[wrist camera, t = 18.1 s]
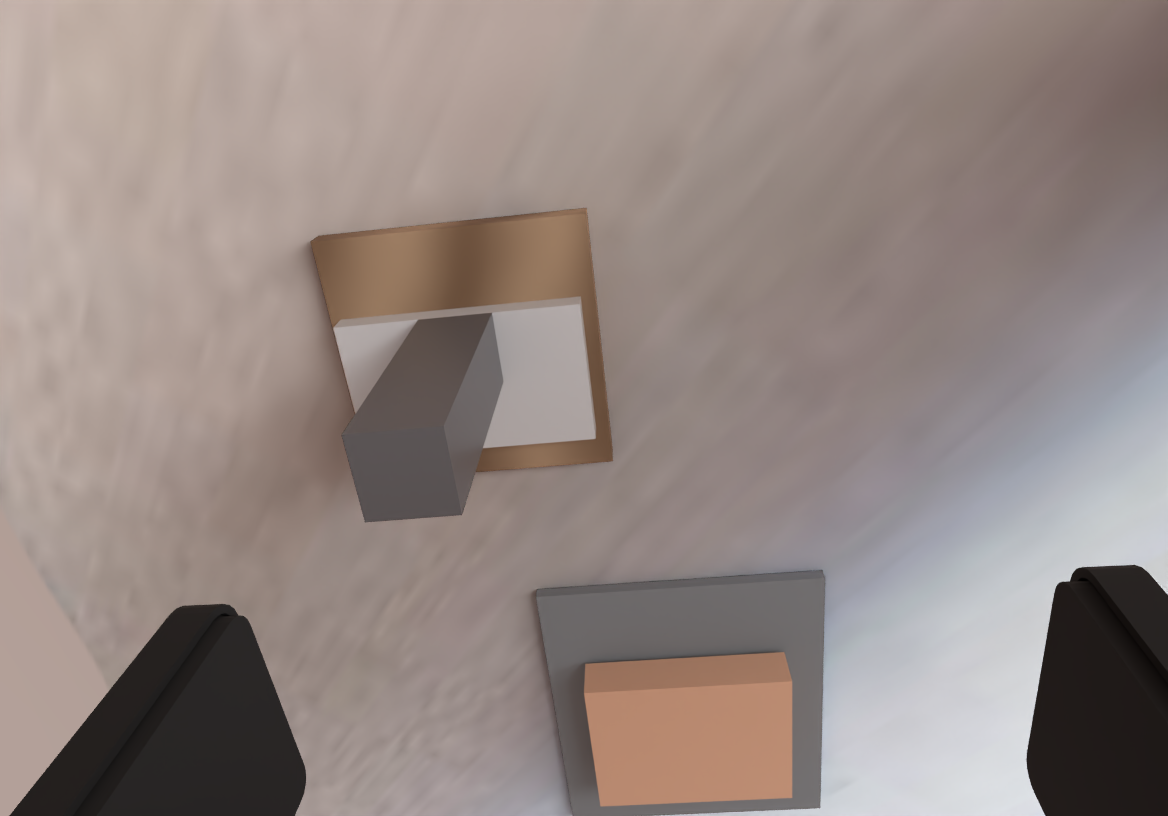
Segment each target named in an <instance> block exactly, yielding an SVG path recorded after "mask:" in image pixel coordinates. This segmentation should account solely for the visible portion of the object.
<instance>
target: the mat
mask: <svg viewBox="0 0 1168 816" xmlns="http://www.w3.org/2000/svg"><path fill="white" fill-rule="evenodd" d="M536 600H537V606H538V612H539V618H540V624H541V630H542V636H543V642H544V648H545V654H546V659H547V665H548V671H549V677H550V683H551V689H552V695H553V701H554V707H555V713H556V719H557V725H558V731H559V737H560V742H561V748H562V754H563V760H564V766H565V772H566V778H567V784H568V790H569V796H570V802H571V808H572V814H573V816H653V815H675V814H698V813H720V812H743V811H765V810H788V809H810V808H820V794H821V747H822V699H823V652H824V605H825V576H824V574H823V571H822V570H818V571H804V572H789V573H774V574H759V575H744V576H729V577H714V578H699V579H684V580H670V581H655V582H640V583H625V584H610V585H595V586H580V587H565V588H550V589H537V593H536ZM775 652H784V653H785V656H786V660H787V664H788V668H789V671H790V675H791V679H792V798H778V799H756V800H734V801H712V802H689V803H667V804H645V805H623V806H600V800H599V793H598V786H597V779H596V772H595V765H594V758H593V752H592V745H591V738H590V731H589V724H588V717H587V710H586V704H585V697H584V682H585V664H590V663H607V662H624V661H641V660H657V659H674V658H691V657H708V656H725V655H742V654H759V653H775Z"/></svg>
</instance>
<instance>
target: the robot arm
mask: <svg viewBox="0 0 1168 816" xmlns="http://www.w3.org/2000/svg"><path fill="white" fill-rule="evenodd" d="M1027 769H1028V774H1029V779H1030V782H1031V785H1032V788H1033V790H1034V793H1035V795H1036V797H1037V799H1038V801H1039V803H1040V805H1041V807H1042V810H1043V812H1044V814H1045V816H1168V595H1167V594H1166V593H1165V591H1164V590H1163V589H1162V588H1161V587H1160V586H1159V585H1158V583H1157V582H1156V581H1155V580H1154V579H1153V578H1152V576H1151V575H1150V574H1149V573H1148V572H1147V571H1145V570H1144V569H1143V568H1142V567H1139V566H1136V565H1124V566H1101V567H1081V568H1078V569H1076V570H1075V571H1074V573H1073V574H1072V577H1071V580H1070V582H1061V583H1059V584H1058V585H1057V586H1056V589H1055V593H1054V598H1053V604H1052V610H1051V616H1050V622H1049V627H1048V633H1047V639H1046V645H1045V651H1044V657H1043V663H1042V668H1041V674H1040V680H1039V686H1038V692H1037V698H1036V704H1035V709H1034V715H1033V721H1032V727H1031V733H1030V739H1029V744H1028V750H1027ZM305 785H306V770H305V766H304V763H303V760H302V758H301V755H300V753H299V750H298V747H297V745H296V742H295V740H294V737H293V734H292V732H291V729H290V727H289V724H288V721H287V719H286V716H285V714H284V711H283V708H282V706H281V703H280V700H279V698H278V695H277V693H276V690H275V687H274V685H273V682H272V680H271V677H270V674H269V672H268V669H267V667H266V664H265V661H264V659H263V656H262V654H261V651H260V648H259V646H258V643H257V641H256V638H255V635H254V633H253V630H252V628H251V625H250V623H249V621H248V619H246V618H245V617H244V616H238V614H237V612H236V611H235V609H234V608H232V607H231V606H230V605H226V604H215V605H192V606H182V607H179V608H177V609H175V610H174V611H173V612H172V613H171V614H170V615H169V617H168V618H167V619H166V620H165V622H164V623H163V624H162V625H161V627H160V628H159V629H158V630H157V632H156V633H155V634H154V635H153V637H152V638H151V639H150V640H149V642H148V643H147V644H146V645H145V647H144V648H143V649H142V650H141V652H140V653H139V654H138V655H137V657H136V658H135V659H134V660H133V662H132V663H131V664H130V665H129V667H128V668H127V669H126V670H125V672H124V673H123V674H122V675H121V677H120V678H119V679H118V680H117V682H116V683H115V684H114V685H113V687H112V688H111V689H110V690H109V692H108V693H107V694H106V695H105V697H104V698H103V699H102V701H101V702H100V703H99V704H98V706H97V707H96V708H95V709H94V711H93V712H92V713H91V714H90V716H89V717H88V718H87V719H86V721H85V722H84V723H83V724H82V726H81V727H80V728H79V729H78V731H77V732H76V733H75V734H74V736H73V737H72V738H71V739H70V741H69V742H68V743H67V745H66V746H65V747H64V748H63V749H62V751H61V752H60V753H59V754H58V756H57V757H56V758H55V759H54V761H53V762H52V763H51V764H50V766H49V767H48V768H47V769H46V771H45V772H44V773H43V775H42V776H41V777H40V778H39V780H38V781H37V782H36V783H35V784H34V786H33V787H32V788H31V789H30V791H29V792H28V793H27V794H26V796H25V797H24V798H23V799H22V801H21V802H20V803H19V804H18V806H17V807H16V808H15V809H14V811H13V812H12V813H11V815H10V816H295V814H296V811H297V809H298V807H299V805H300V802H301V800H302V797H303V794H304V790H305Z"/></svg>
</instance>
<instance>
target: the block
mask: <svg viewBox="0 0 1168 816" xmlns="http://www.w3.org/2000/svg"><path fill="white" fill-rule="evenodd" d="M584 697H585V704H586V710H587V717H588V724H589V731H590V738H591V745H592V752H593V758H594V765H595V772H596V779H597V786H598V793H599V800H600V806H623V805H645V804H667V803H689V802H712V801H734V800H756V799H778V798H792V679H791V675H790V671H789V668H788V664H787V660H786V656H785V653H784V652H775V653H759V654H742V655H725V656H708V657H691V658H674V659H657V660H641V661H624V662H607V663H590V664H585V682H584Z"/></svg>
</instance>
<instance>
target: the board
mask: <svg viewBox="0 0 1168 816" xmlns="http://www.w3.org/2000/svg"><path fill="white" fill-rule="evenodd" d="M311 246H312V250H313V254H314V258H315V261H316V265H317V269H318V273H319V277H320V281H321V285H322V289H323V293H324V296H325V300H326V304H327V308H328V312H329V316H330V320H331V324H332V328H334V326H335V325H336V324H337V323H338V322H339V321H340V320H342V319H352V318H363V317H373V316H384V315H394V314H404V313H415V312H425V311H435V310H446V309H456V308H466V307H477V306H487V305H497V304H508V303H518V302H528V301H539V300H549V299H560V298H570V297H580V296H581V304H582V313H583V321H584V330H585V338H586V347H587V355H588V364H589V372H590V381H591V389H592V398H593V406H594V415H595V423H596V439H589V440H576V441H564V442H552V443H540V444H528V445H516V446H504V447H492V448H483V449H482V452H481V456H480V459H479V462H478V465H477V469H476V472H483V471H495V470H508V469H521V468H533V467H546V466H559V465H571V464H584V463H597V462H609V461H613V449H612V440H611V430H610V421H609V412H608V403H607V393H606V384H605V375H604V366H603V356H602V347H601V338H600V328H599V319H598V310H597V301H596V291H595V282H594V273H593V264H592V254H591V245H590V236H589V226H588V217H587V208H581V209H572V210H562V211H552V212H543V213H533V214H524V215H514V216H504V217H495V218H485V219H476V220H466V221H456V222H447V223H437V224H428V225H418V226H408V227H399V228H389V229H380V230H370V231H360V232H351V233H341V234H332V235H322V236H318V237H316V238H315V239H314V240H312V241H311ZM333 332H334V329H333ZM334 335H335V333H334ZM335 339H336V337H335ZM336 343H337V341H336ZM337 347H338V345H337ZM338 351H339V348H338ZM339 355H340V352H339ZM340 359H341V356H340ZM341 363H342V360H341ZM342 367H343V364H342ZM343 370H344V368H343ZM344 374H345V372H344ZM345 378H346V376H345ZM346 382H347V379H346ZM347 386H348V383H347ZM348 390H349V387H348ZM349 394H350V391H349ZM350 398H351V395H350ZM351 402H352V399H351ZM352 405H353V403H352ZM353 409H354V407H353ZM354 413H355V411H354Z"/></svg>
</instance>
